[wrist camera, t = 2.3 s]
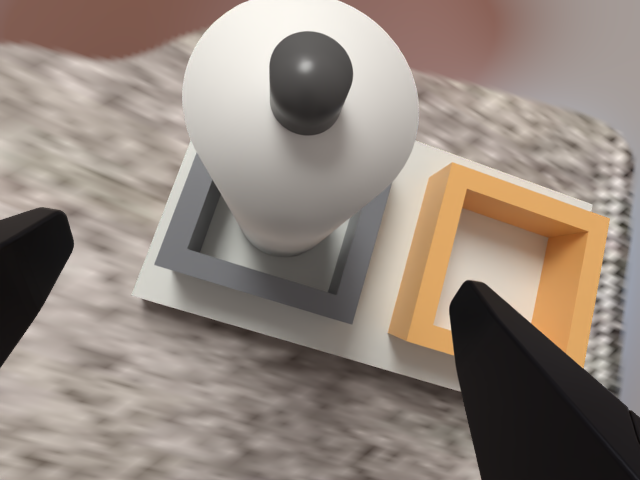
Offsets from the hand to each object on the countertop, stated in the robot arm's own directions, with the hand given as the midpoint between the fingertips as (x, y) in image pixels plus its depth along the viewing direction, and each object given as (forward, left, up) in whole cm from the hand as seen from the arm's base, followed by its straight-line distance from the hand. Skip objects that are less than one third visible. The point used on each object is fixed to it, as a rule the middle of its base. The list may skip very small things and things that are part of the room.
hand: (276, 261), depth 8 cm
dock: (+3, -5, -10) cm, 12 cm away
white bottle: (+3, 0, -9) cm, 10 cm away
